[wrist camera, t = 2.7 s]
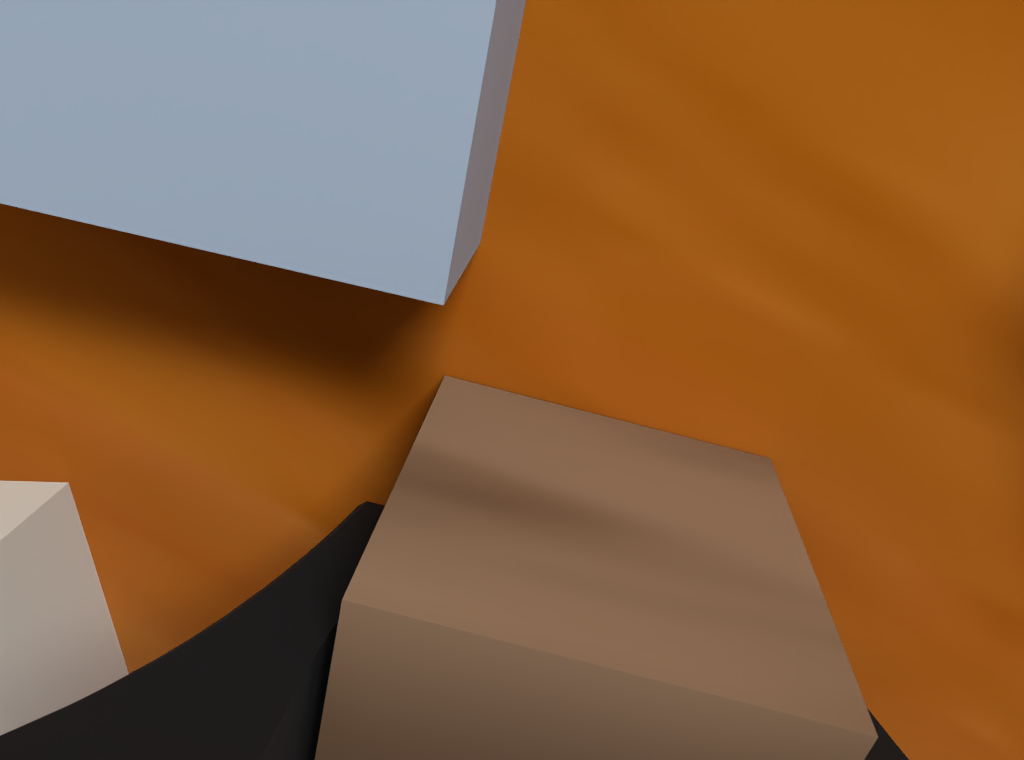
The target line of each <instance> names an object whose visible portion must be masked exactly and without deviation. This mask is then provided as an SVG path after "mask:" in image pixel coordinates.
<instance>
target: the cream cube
mask: <svg viewBox="0 0 1024 760" xmlns="http://www.w3.org/2000/svg"><path fill="white" fill-rule="evenodd" d="M128 674H129V673H128V670H127V667H126V664H125V660H124V657H123V654H122V651H121V648H120V645H119V641H118V638H117V635H116V632H115V629H114V626H113V622H112V619H111V616H110V613H109V610H108V606H107V603H106V600H105V597H104V594H103V591H102V587H101V584H100V581H99V578H98V575H97V572H96V568H95V565H94V562H93V559H92V556H91V553H90V549H89V546H88V543H87V540H86V537H85V534H84V530H83V527H82V524H81V521H80V518H79V515H78V511H77V508H76V505H75V502H74V499H73V496H72V492H71V489H70V486H69V483H60V482H25V481H0V735H3V734H5V733H7V732H9V731H12V730H14V729H16V728H18V727H21V726H23V725H25V724H27V723H30V722H32V721H34V720H36V719H39V718H41V717H43V716H45V715H48V714H50V713H52V712H54V711H57V710H59V709H61V708H63V707H66V706H68V705H70V704H72V703H74V702H76V701H78V700H80V699H82V698H84V697H86V696H88V695H90V694H92V693H94V692H96V691H98V690H100V689H102V688H104V687H106V686H108V685H110V684H112V683H113V682H115V681H117V680H119V679H121V678H123V677H124V676H126V675H128Z"/></svg>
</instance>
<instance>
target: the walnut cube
mask: <svg viewBox="0 0 1024 760" xmlns="http://www.w3.org/2000/svg"><path fill="white" fill-rule="evenodd" d="M877 738H878V735H877V733H876V730H875V728H874V725H873V722H872V720H871V717H870V715H869V712H868V709H867V707H866V704H865V702H864V699H863V697H862V694H861V691H860V689H859V686H858V684H857V681H856V678H855V676H854V673H853V671H852V668H851V665H850V663H849V660H848V658H847V655H846V653H845V650H844V647H843V645H842V642H841V640H840V637H839V634H838V632H837V629H836V627H835V624H834V622H833V619H832V616H831V614H830V611H829V609H828V606H827V603H826V601H825V598H824V596H823V593H822V591H821V588H820V585H819V583H818V580H817V578H816V575H815V572H814V570H813V567H812V565H811V562H810V560H809V557H808V554H807V552H806V549H805V547H804V544H803V541H802V539H801V536H800V534H799V531H798V528H797V526H796V523H795V521H794V518H793V516H792V513H791V510H790V508H789V505H788V503H787V500H786V497H785V495H784V492H783V490H782V487H781V485H780V482H779V479H778V477H777V474H776V472H775V469H774V466H773V464H772V461H771V459H770V458H766V457H762V456H758V455H754V454H750V453H746V452H743V451H739V450H735V449H731V448H727V447H723V446H719V445H715V444H711V443H707V442H703V441H699V440H696V439H692V438H688V437H684V436H680V435H676V434H672V433H668V432H664V431H660V430H656V429H652V428H649V427H645V426H641V425H637V424H633V423H629V422H625V421H621V420H617V419H613V418H609V417H606V416H602V415H598V414H594V413H590V412H586V411H582V410H578V409H574V408H570V407H566V406H562V405H559V404H555V403H551V402H547V401H543V400H539V399H535V398H531V397H527V396H523V395H519V394H515V393H512V392H508V391H504V390H500V389H496V388H492V387H488V386H484V385H480V384H476V383H472V382H468V381H465V380H461V379H457V378H453V377H449V376H444V379H443V381H442V383H441V385H440V387H439V389H438V392H437V394H436V396H435V398H434V400H433V403H432V405H431V407H430V409H429V411H428V413H427V416H426V418H425V420H424V422H423V424H422V426H421V429H420V431H419V433H418V435H417V437H416V440H415V442H414V444H413V446H412V448H411V450H410V453H409V455H408V457H407V459H406V461H405V464H404V466H403V468H402V470H401V472H400V474H399V477H398V479H397V481H396V483H395V485H394V488H393V490H392V492H391V494H390V496H389V498H388V501H387V503H386V505H385V507H384V509H383V512H382V514H381V516H380V518H379V520H378V522H377V525H376V527H375V529H374V531H373V533H372V536H371V538H370V540H369V542H368V544H367V546H366V549H365V551H364V553H363V555H362V557H361V559H360V562H359V564H358V566H357V568H356V570H355V573H354V575H353V577H352V579H351V581H350V583H349V586H348V588H347V590H346V592H345V594H344V597H343V599H342V603H341V609H340V615H339V620H338V626H337V632H336V638H335V644H334V650H333V656H332V661H331V667H330V673H329V679H328V685H327V691H326V696H325V702H324V708H323V714H322V720H321V726H320V731H319V737H318V743H317V749H316V755H315V760H864V759H865V758H866V756H867V754H868V753H869V751H870V750H871V748H872V746H873V745H874V743H875V742H876V740H877Z"/></svg>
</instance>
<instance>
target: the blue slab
mask: <svg viewBox="0 0 1024 760" xmlns="http://www.w3.org/2000/svg"><path fill="white" fill-rule="evenodd" d="M525 3H526V0H0V203H1V204H5V205H10V206H14V207H18V208H23V209H27V210H31V211H36V212H40V213H44V214H49V215H53V216H57V217H62V218H66V219H70V220H75V221H79V222H84V223H88V224H92V225H97V226H101V227H105V228H110V229H114V230H118V231H123V232H127V233H131V234H136V235H140V236H144V237H149V238H153V239H157V240H162V241H166V242H170V243H175V244H179V245H183V246H188V247H192V248H196V249H201V250H205V251H209V252H214V253H218V254H222V255H227V256H231V257H235V258H240V259H244V260H248V261H253V262H257V263H262V264H266V265H270V266H275V267H279V268H283V269H288V270H292V271H296V272H301V273H305V274H309V275H314V276H318V277H322V278H327V279H331V280H335V281H340V282H344V283H348V284H353V285H357V286H361V287H366V288H370V289H374V290H379V291H383V292H387V293H392V294H396V295H400V296H405V297H409V298H413V299H418V300H422V301H426V302H431V303H435V304H440V305H444V304H445V302H446V300H447V299H448V297H449V295H450V293H451V292H452V290H453V288H454V287H455V285H456V283H457V282H458V280H459V278H460V277H461V275H462V273H463V271H464V270H465V268H466V266H467V265H468V263H469V261H470V260H471V258H472V256H473V255H474V253H475V251H476V249H477V248H478V246H479V244H480V242H481V236H482V231H483V226H484V220H485V215H486V210H487V204H488V199H489V194H490V189H491V183H492V178H493V173H494V167H495V162H496V157H497V151H498V146H499V141H500V135H501V130H502V125H503V119H504V114H505V109H506V104H507V98H508V93H509V88H510V82H511V77H512V72H513V66H514V61H515V56H516V50H517V45H518V40H519V34H520V29H521V24H522V18H523V13H524V8H525Z"/></svg>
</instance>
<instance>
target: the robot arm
mask: <svg viewBox="0 0 1024 760" xmlns="http://www.w3.org/2000/svg"><path fill="white" fill-rule="evenodd" d="M384 507H385V506H384V505H380V504H376V503H372V502H368V501H367V502H365V503H363V504H361V505H359V506H357V508H356V509H355V510H354V511H353V512H352V513H351V514H350V515H349V516H348V517H347V518H346V519H345V520H344V521H343V522H342V523H340V524H339V525H338V526H337V527H336V528H335V529H334V530H333V531H332V532H331V533H330V534H329V535H328V536H326V537H325V538H324V539H323V540H322V541H321V542H320V543H319V544H317V545H316V546H315V547H314V548H313V549H312V550H311V551H309V552H308V553H307V554H306V555H305V556H303V557H302V558H301V559H300V560H298V561H297V562H296V563H295V564H294V565H292V566H291V567H290V568H289V569H287V570H286V571H285V572H284V573H282V574H281V575H280V576H279V577H278V578H276V579H275V580H274V581H272V582H271V583H270V584H269V585H267V586H266V587H265V588H263V589H262V590H260V591H259V592H258V593H256V594H255V595H253V596H252V597H251V598H249V599H248V600H247V601H245V602H244V603H242V604H241V605H240V606H238V607H237V608H235V609H234V610H233V611H231V612H230V613H229V614H227V615H226V616H224V617H223V618H221V619H220V620H218V621H217V622H215V623H214V624H212V625H211V626H209V627H208V628H206V629H205V630H203V631H202V632H200V633H199V634H197V635H195V636H194V637H192V638H191V639H189V640H187V641H186V642H184V643H182V644H181V645H179V646H177V647H176V648H174V649H172V650H171V651H169V652H167V653H166V654H164V655H163V656H161V657H159V658H157V659H156V660H154V661H152V662H150V663H149V664H147V665H145V666H143V667H141V668H139V669H137V670H136V671H134V672H132V673H130V674H128V675H126V676H124V677H123V678H121V679H119V680H117V681H115V682H113V683H112V684H110V685H108V686H106V687H104V688H102V689H100V690H98V691H96V692H94V693H92V694H90V695H88V696H86V697H84V698H82V699H80V700H78V701H76V702H74V703H72V704H70V705H68V706H66V707H63V708H61V709H59V710H57V711H54V712H52V713H50V714H48V715H45V716H43V717H41V718H39V719H36V720H34V721H32V722H30V723H27V724H25V725H23V726H21V727H18V728H16V729H14V730H12V731H9V732H7V733H5V734H3V735H0V760H315V755H316V749H317V743H318V737H319V731H320V726H321V720H322V714H323V708H324V702H325V696H326V691H327V685H328V679H329V673H330V667H331V661H332V656H333V650H334V644H335V638H336V632H337V626H338V620H339V615H340V609H341V603H342V599H343V597H344V594H345V592H346V590H347V588H348V586H349V583H350V581H351V579H352V577H353V575H354V573H355V570H356V568H357V566H358V564H359V562H360V559H361V557H362V555H363V553H364V551H365V549H366V546H367V544H368V542H369V540H370V538H371V536H372V533H373V531H374V529H375V527H376V525H377V522H378V520H379V518H380V516H381V514H382V512H383V509H384ZM867 709H868V708H867ZM868 712H869V715H870V717H871V720H872V722H873V725H874V728H875V730H876V733H877V735H878V738H877V740H876V742H875V743H874V745H873V746H872V748H871V750H870V751H869V753H868V754H867V756H866V758H865V759H864V760H909V759H908V758H907V757H906V756H905V754H904V753H903V752H902V751H901V750H900V748H899V747H898V746H897V745H896V744H895V742H894V741H893V740H892V739H891V737H890V736H889V735H888V734H887V732H886V731H885V730H884V729H883V727H882V726H881V725H880V724H879V722H878V721H877V720H876V719H875V717H874V716H873V715H872V713H871V712H870V711H869V710H868Z"/></svg>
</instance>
